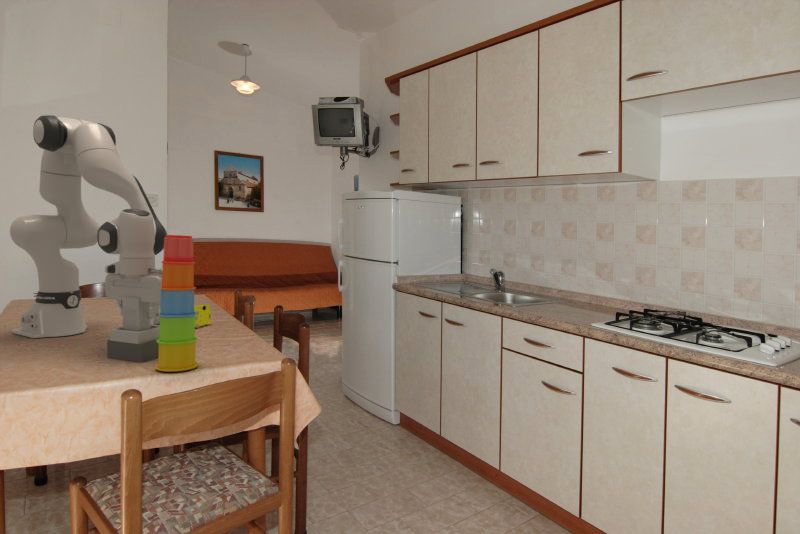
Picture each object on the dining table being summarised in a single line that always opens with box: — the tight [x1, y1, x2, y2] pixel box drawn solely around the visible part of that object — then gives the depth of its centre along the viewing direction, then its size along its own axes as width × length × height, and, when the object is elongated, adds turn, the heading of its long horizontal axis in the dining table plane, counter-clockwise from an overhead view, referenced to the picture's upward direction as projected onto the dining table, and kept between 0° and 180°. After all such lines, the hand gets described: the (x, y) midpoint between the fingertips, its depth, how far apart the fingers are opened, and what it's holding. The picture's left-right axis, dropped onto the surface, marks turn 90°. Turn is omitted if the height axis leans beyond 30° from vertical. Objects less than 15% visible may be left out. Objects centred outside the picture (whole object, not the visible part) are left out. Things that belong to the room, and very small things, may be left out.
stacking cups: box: [155, 234, 199, 373], centre depth 130 cm, size 10×10×35 cm
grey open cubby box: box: [106, 325, 160, 363], centre depth 142 cm, size 12×10×9 cm
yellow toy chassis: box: [194, 303, 212, 329], centre depth 180 cm, size 16×6×8 cm, turn 158°
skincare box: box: [122, 296, 151, 332], centre depth 141 cm, size 6×4×12 cm
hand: (138, 317), depth 141 cm, fingers open, 8 cm apart
